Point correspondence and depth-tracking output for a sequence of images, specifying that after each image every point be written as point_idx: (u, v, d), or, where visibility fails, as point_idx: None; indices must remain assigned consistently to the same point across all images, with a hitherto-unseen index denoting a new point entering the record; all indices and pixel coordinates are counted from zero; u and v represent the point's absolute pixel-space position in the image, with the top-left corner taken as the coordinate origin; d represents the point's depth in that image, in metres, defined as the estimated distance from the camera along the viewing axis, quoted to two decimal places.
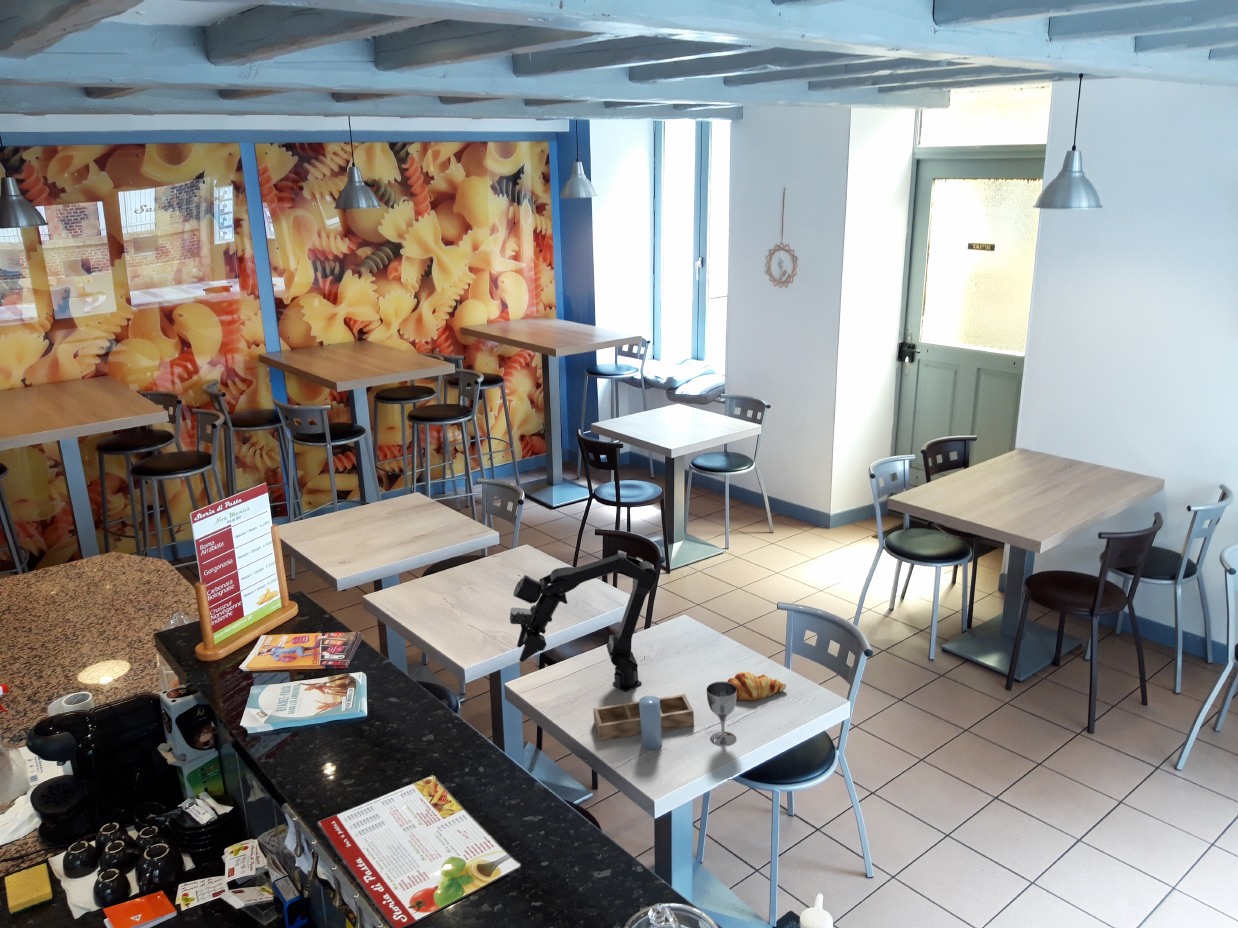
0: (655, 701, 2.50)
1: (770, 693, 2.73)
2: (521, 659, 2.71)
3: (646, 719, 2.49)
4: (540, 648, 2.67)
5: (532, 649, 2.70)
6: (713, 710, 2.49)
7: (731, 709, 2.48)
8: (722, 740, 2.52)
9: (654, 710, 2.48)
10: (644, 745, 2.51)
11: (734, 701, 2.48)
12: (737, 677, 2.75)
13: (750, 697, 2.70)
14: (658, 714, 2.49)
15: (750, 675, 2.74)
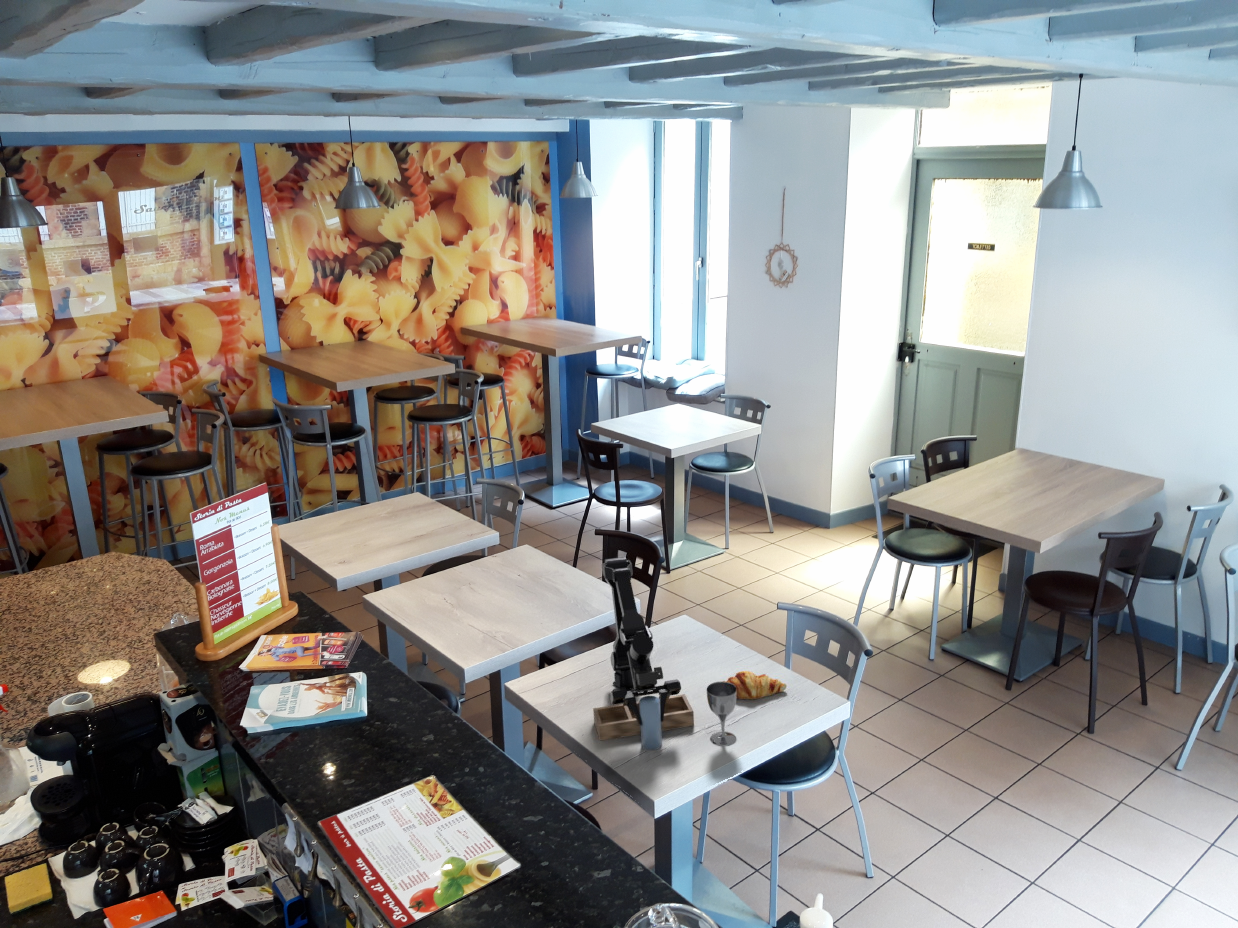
0: (655, 701, 2.50)
1: (770, 693, 2.73)
2: (663, 718, 2.51)
3: (646, 719, 2.49)
4: None
5: None
6: (713, 710, 2.49)
7: (731, 709, 2.48)
8: (722, 740, 2.52)
9: (654, 710, 2.48)
10: (644, 745, 2.51)
11: (734, 701, 2.48)
12: (737, 676, 2.75)
13: (749, 696, 2.71)
14: (658, 714, 2.49)
15: (750, 674, 2.74)
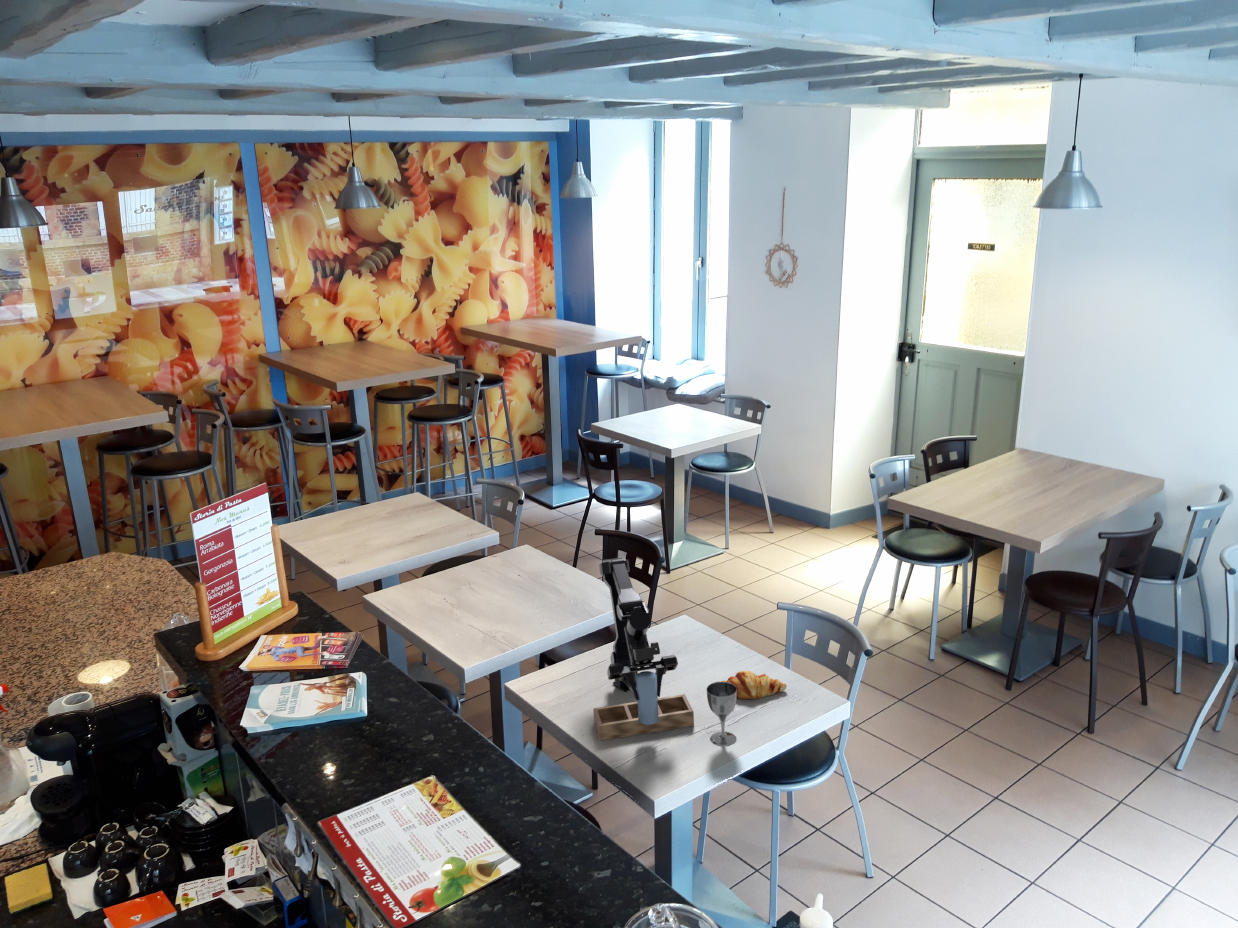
0: (652, 676, 2.50)
1: (770, 693, 2.73)
2: None
3: (643, 694, 2.49)
4: None
5: None
6: (713, 710, 2.49)
7: (731, 709, 2.48)
8: (722, 740, 2.52)
9: (650, 686, 2.49)
10: (641, 720, 2.52)
11: (734, 701, 2.48)
12: (737, 675, 2.76)
13: (749, 696, 2.71)
14: (655, 689, 2.50)
15: (750, 674, 2.74)
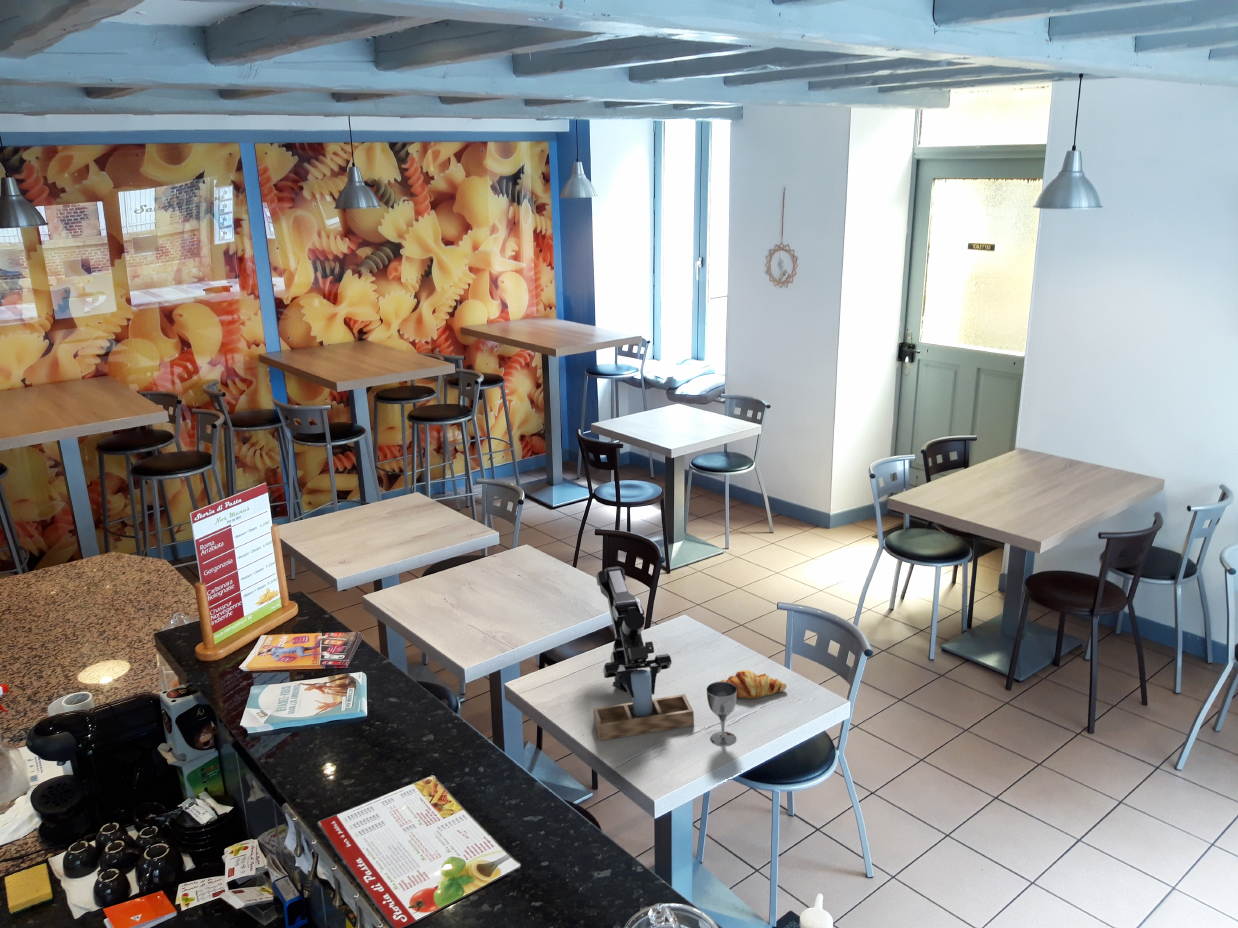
0: (646, 674, 2.59)
1: (769, 692, 2.73)
2: None
3: (638, 691, 2.58)
4: None
5: None
6: (713, 710, 2.49)
7: (731, 709, 2.48)
8: (722, 740, 2.52)
9: (645, 683, 2.57)
10: (636, 717, 2.61)
11: (734, 701, 2.48)
12: (737, 675, 2.76)
13: (749, 695, 2.71)
14: (649, 687, 2.58)
15: (750, 674, 2.74)
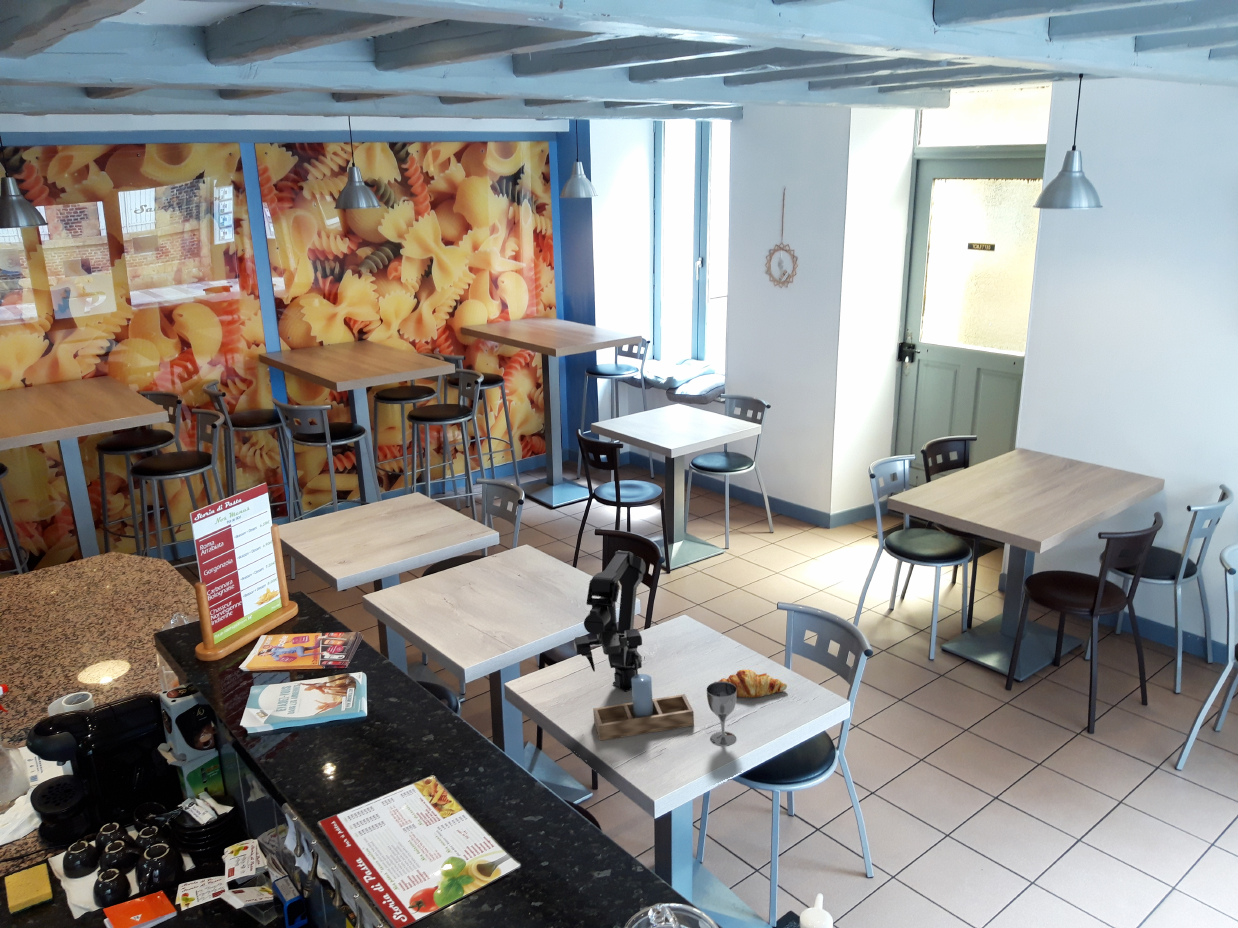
0: (647, 679, 2.59)
1: (769, 692, 2.73)
2: None
3: (638, 696, 2.58)
4: None
5: None
6: (713, 710, 2.49)
7: (731, 709, 2.48)
8: (722, 740, 2.52)
9: (645, 688, 2.58)
10: None
11: (734, 701, 2.48)
12: (738, 674, 2.76)
13: (748, 695, 2.72)
14: (650, 691, 2.59)
15: (750, 673, 2.75)
